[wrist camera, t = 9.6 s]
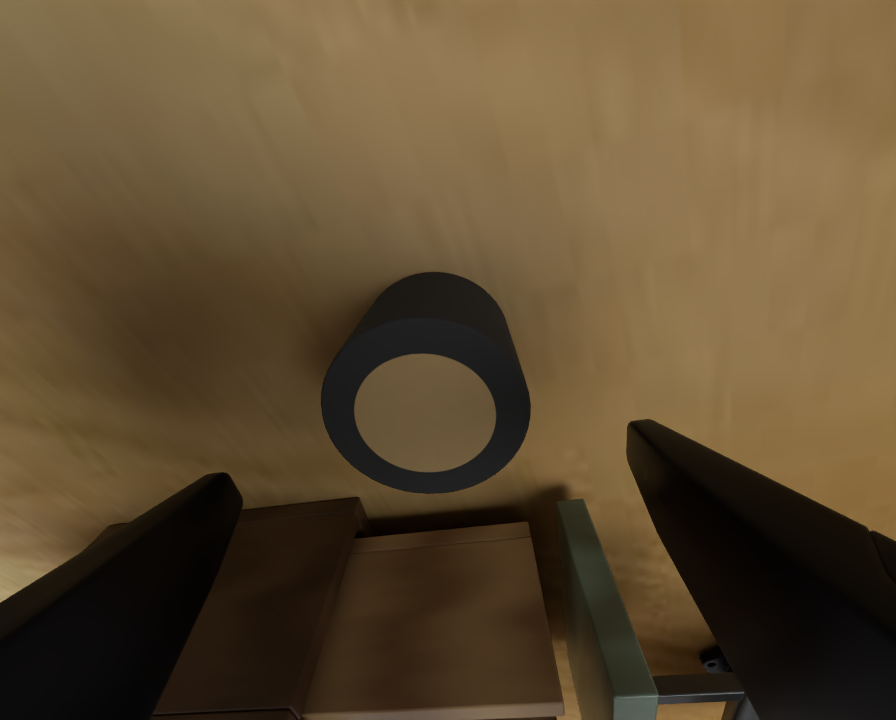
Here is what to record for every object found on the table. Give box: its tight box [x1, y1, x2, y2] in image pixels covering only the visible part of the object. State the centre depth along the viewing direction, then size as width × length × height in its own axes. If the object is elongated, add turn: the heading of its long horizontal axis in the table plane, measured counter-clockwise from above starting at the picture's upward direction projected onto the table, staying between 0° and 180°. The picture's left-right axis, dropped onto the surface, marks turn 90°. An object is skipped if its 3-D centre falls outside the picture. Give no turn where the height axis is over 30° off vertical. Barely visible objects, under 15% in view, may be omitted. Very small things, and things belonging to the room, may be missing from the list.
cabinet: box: [82, 498, 374, 720], centre depth 17 cm, size 14×14×9 cm
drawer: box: [300, 499, 760, 720], centre depth 16 cm, size 17×12×7 cm
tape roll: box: [321, 272, 531, 494], centre depth 12 cm, size 6×6×5 cm
